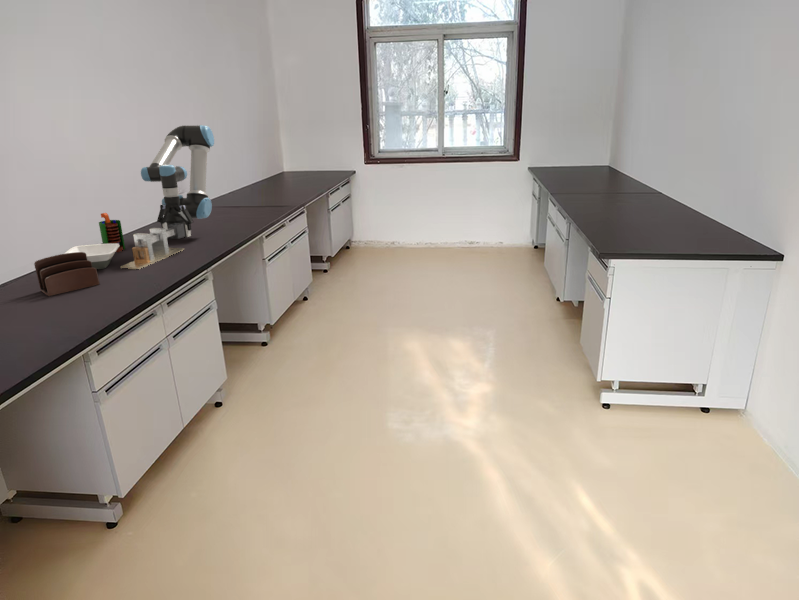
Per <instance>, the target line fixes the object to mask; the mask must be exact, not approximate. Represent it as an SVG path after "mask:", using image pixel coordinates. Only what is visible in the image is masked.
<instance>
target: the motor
mask: <svg viewBox="0 0 799 600" xmlns="http://www.w3.org/2000/svg"><path fill="white" fill-rule="evenodd" d="M100 216H101V218H103V219H104V220H102V221H99V222H98V226H99V231H100V237H101V242H102V243H101V244H115V243H118V244H119V245H120V246H119V248H118V249H117V251H116V252H117V253H121V252H123V251H124V250H126V246H125V240H124V234H123V233H124V232H123V228H122V223H121V220H119V219H110V216H109V214H108V213H107V212H103V213H100ZM122 250H123V251H122ZM120 251H121V252H120Z"/></svg>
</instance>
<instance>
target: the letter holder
mask: <svg viewBox="0 0 799 600" xmlns="http://www.w3.org/2000/svg"><path fill="white" fill-rule="evenodd" d="M33 265H34V269H35V273H36V276H37V281H38V285H39V289H40V291H41V292H42V293H43V294H45V295H46V296H48V297H51V296H57V295H60V294H64V293H70V292H73V291H78V290H82V288H83V289H85V288H86V289H87V288H90V287H97V286H99V284H101V283H100V279H99V275H98V271H97V270H96V268H92V263H91V261H89V260H87V256H86V253H84V252H75V253H67V254H64V253H62V254H56V255H52V256H47V257H44V258H42V259H41V258H40V259H38V260H36V261H34V264H33Z"/></svg>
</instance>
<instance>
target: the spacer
mask: <svg viewBox="0 0 799 600" xmlns="http://www.w3.org/2000/svg"><path fill="white" fill-rule="evenodd" d="M131 250H132V255H133V261H134V262H144V263H148V262H150V258H149V253H148V248H146V247H135V246H133V247H132V248H131ZM138 251H143V253H144V259H139V256H138Z"/></svg>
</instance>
